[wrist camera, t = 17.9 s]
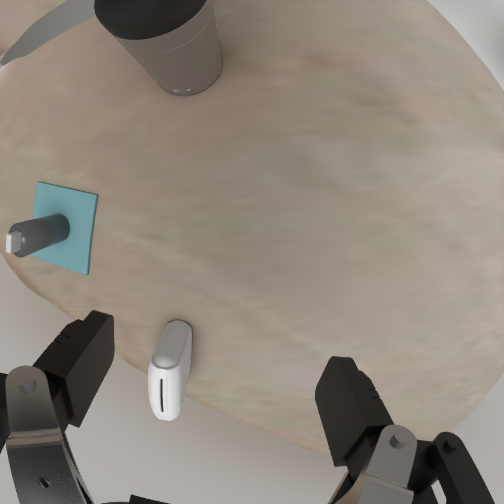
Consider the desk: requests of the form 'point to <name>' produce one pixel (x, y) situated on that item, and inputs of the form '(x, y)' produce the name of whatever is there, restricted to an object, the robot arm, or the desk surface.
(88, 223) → the teal mat
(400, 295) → the desk surface
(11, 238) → the grey capped bottle
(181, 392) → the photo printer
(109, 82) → the desk surface
